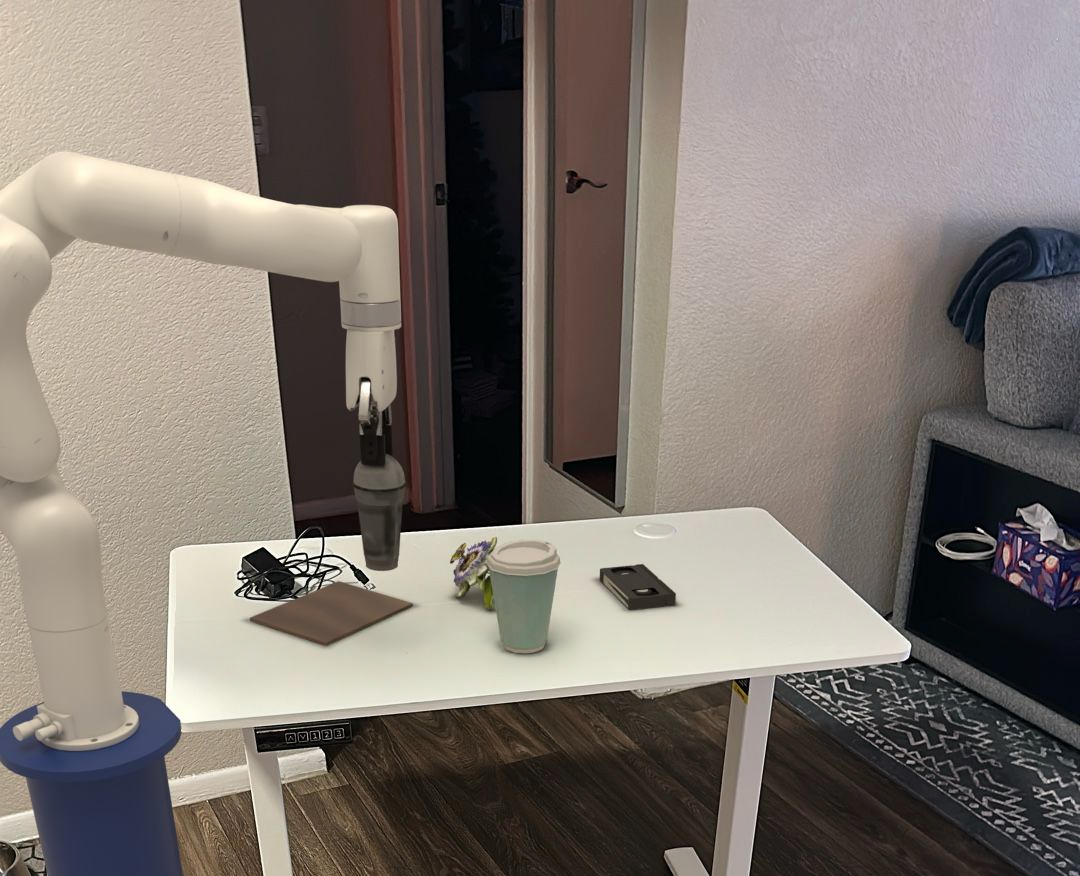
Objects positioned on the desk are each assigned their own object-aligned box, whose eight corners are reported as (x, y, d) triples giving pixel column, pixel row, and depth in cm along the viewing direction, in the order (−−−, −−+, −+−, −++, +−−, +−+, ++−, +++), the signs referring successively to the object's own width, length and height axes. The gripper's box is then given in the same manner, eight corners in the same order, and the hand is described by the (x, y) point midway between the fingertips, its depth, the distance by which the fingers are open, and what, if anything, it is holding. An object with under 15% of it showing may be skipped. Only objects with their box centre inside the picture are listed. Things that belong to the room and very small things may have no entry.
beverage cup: (359, 576, 175) (353, 427, 164) (352, 558, 181) (345, 413, 170) (412, 573, 177) (409, 425, 166) (402, 555, 183) (399, 412, 172)
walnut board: (326, 646, 190) (325, 642, 189) (249, 620, 197) (249, 617, 197) (413, 606, 204) (412, 603, 203) (338, 583, 211) (338, 581, 211)
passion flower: (462, 628, 210) (439, 559, 210) (524, 610, 212) (501, 541, 212) (470, 613, 199) (446, 540, 199) (535, 594, 201) (511, 521, 201)
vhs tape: (598, 579, 215) (599, 568, 214) (642, 575, 217) (642, 563, 216) (629, 610, 204) (630, 598, 203) (675, 605, 206) (676, 593, 205)
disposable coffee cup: (512, 665, 185) (513, 565, 177) (473, 640, 192) (472, 543, 184) (572, 649, 190) (575, 552, 182) (531, 626, 197) (533, 531, 190)
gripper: (356, 302, 169) (363, 442, 178) (325, 325, 155) (334, 476, 164) (412, 304, 168) (416, 445, 178) (386, 327, 154) (392, 479, 164)
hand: (377, 458), depth 171 cm, fingers closed on beverage cup, 4 cm apart
